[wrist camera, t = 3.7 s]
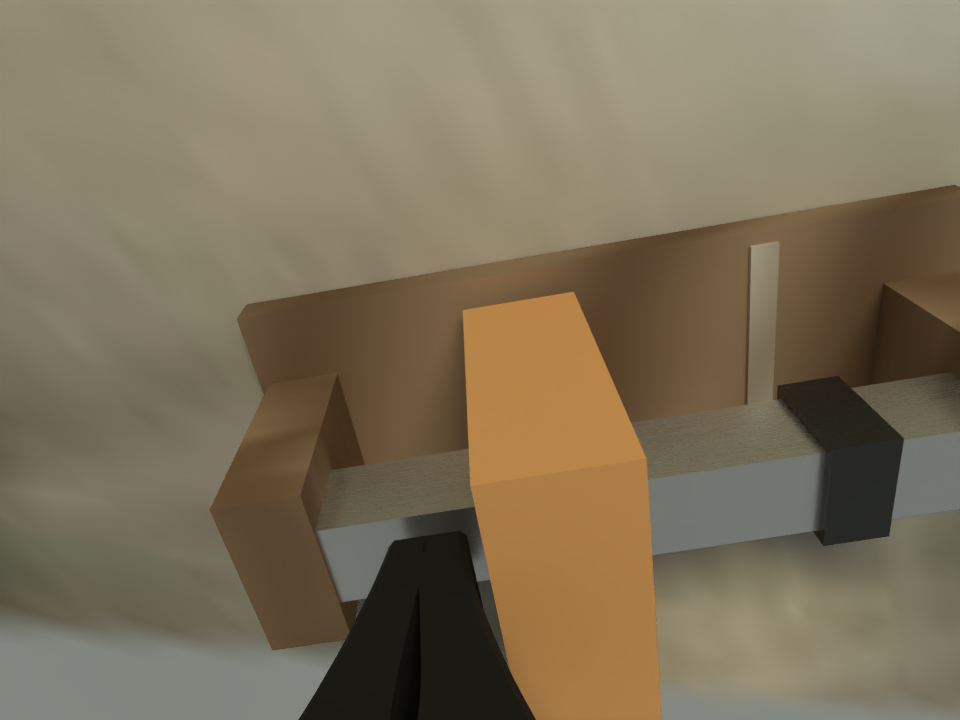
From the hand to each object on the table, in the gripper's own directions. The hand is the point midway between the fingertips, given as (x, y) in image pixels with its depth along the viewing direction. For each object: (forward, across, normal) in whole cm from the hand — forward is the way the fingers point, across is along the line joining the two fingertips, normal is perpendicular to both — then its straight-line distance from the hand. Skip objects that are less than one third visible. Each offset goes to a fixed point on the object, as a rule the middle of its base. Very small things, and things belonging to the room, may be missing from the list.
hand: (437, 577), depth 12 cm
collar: (+5, -2, 0) cm, 5 cm away
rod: (+3, -4, 0) cm, 5 cm away
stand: (+6, -4, 0) cm, 7 cm away
